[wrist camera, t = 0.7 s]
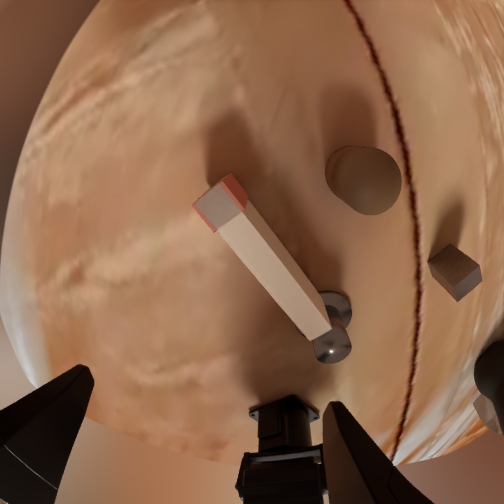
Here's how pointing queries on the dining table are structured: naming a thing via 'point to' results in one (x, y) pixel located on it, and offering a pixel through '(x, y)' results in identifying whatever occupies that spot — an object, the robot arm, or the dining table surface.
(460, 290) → the block
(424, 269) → the dining table surface
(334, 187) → the cylinder
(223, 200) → the white rectangular bar
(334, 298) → the flanged metal peg
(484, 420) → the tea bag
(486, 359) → the cola bottle
